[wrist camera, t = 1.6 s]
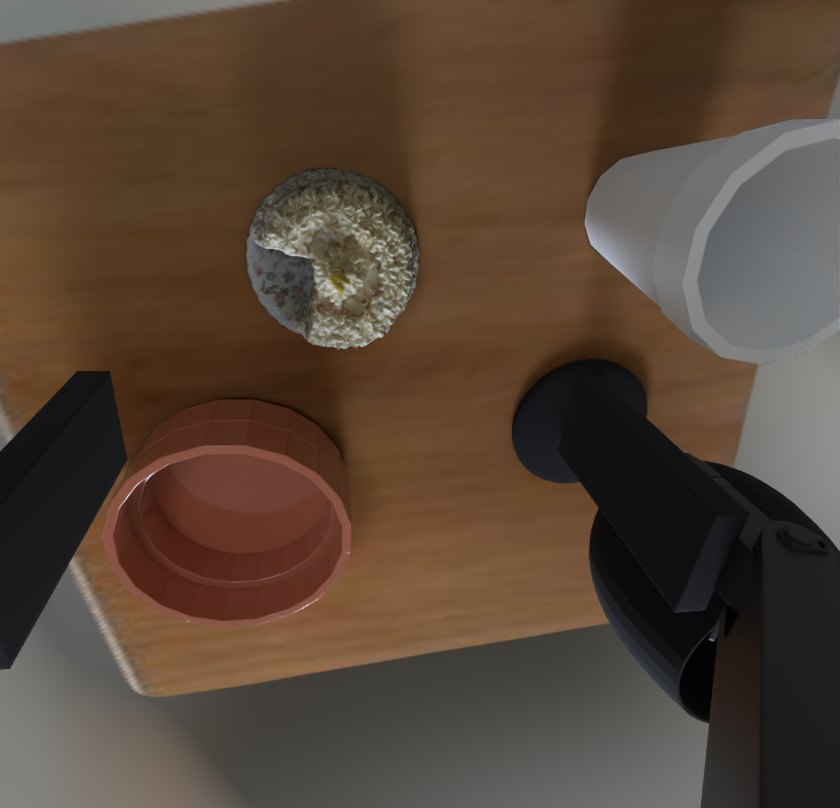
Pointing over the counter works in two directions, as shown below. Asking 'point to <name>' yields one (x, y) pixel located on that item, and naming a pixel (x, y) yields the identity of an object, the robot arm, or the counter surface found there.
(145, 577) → the bowl
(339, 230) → the cake
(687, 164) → the foam cup
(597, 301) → the counter surface
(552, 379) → the wine glass
